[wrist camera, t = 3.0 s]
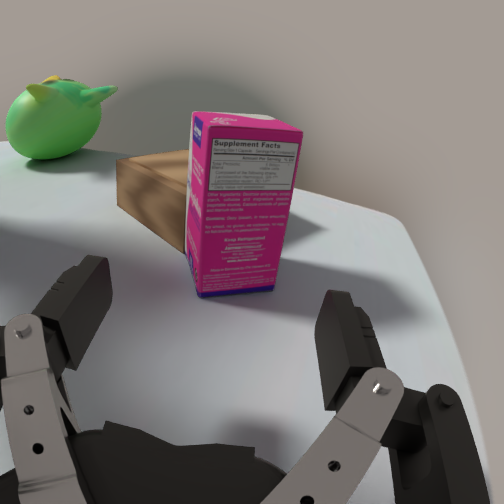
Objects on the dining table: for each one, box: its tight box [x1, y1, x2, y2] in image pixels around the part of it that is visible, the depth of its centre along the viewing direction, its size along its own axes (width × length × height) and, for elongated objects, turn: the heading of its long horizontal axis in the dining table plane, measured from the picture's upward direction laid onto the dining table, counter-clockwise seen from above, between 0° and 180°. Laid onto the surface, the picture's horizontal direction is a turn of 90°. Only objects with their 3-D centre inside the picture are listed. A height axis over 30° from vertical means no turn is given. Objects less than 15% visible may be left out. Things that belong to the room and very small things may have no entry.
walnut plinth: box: [116, 149, 189, 253], centre depth 32 cm, size 12×12×5 cm
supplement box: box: [185, 112, 303, 297], centre depth 21 cm, size 6×6×12 cm
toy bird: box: [6, 75, 118, 159], centre depth 42 cm, size 18×17×15 cm
